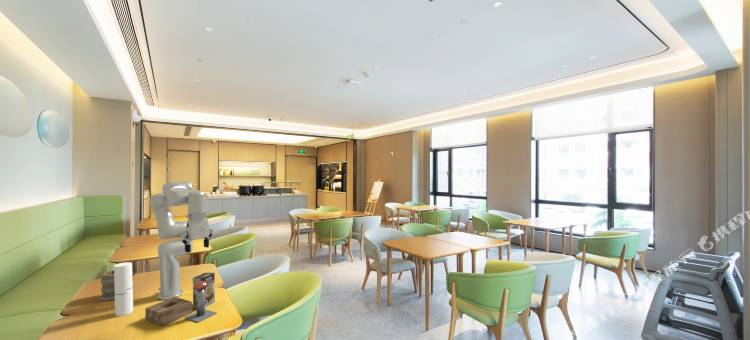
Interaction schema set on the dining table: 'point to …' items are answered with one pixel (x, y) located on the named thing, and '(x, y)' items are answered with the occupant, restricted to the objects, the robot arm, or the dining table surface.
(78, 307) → the dining table surface
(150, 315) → the block
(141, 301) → the dining table surface
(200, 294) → the red topped grey cylinder
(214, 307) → the dining table surface
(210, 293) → the coffee box
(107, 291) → the tankard
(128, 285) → the cylindrical container
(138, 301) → the dining table surface
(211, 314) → the mat
